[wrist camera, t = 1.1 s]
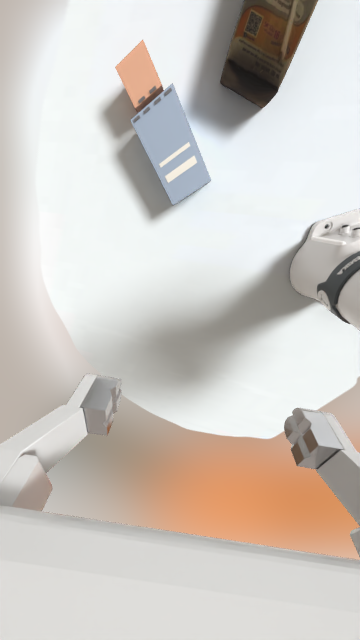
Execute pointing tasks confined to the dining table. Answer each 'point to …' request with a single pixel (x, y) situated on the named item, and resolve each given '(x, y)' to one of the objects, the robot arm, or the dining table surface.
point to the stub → (139, 77)
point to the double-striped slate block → (171, 146)
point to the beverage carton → (264, 46)
